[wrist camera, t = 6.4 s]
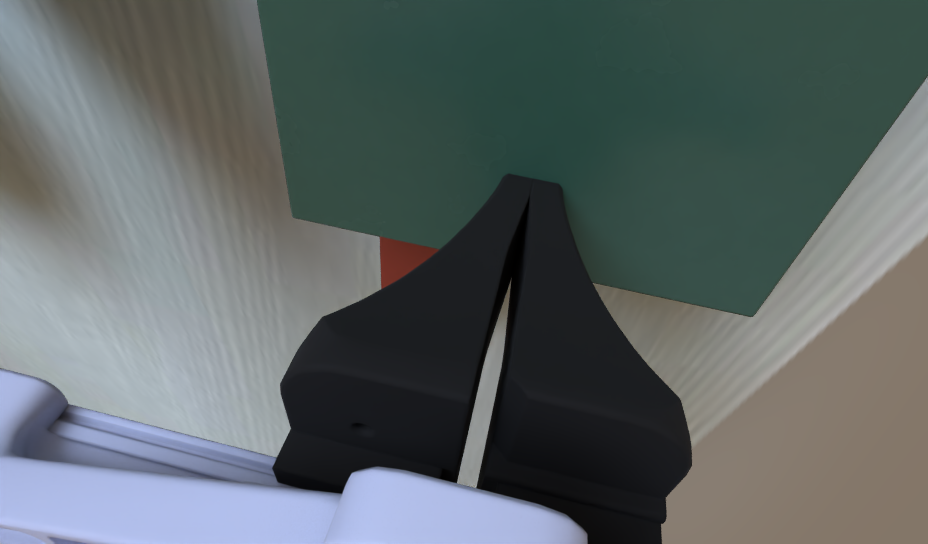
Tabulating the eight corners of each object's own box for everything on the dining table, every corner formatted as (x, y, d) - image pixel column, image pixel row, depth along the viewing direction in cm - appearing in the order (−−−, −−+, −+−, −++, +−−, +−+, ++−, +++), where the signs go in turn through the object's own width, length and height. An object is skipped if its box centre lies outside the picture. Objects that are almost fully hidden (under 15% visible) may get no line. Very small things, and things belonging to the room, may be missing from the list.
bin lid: (749, 299, 14) (753, 318, 14) (302, 204, 15) (291, 218, 15) (1181, -325, 6) (1228, -333, 6) (209, -432, 8) (180, -445, 7)
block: (492, 259, 25) (475, 325, 22) (408, 241, 25) (381, 303, 22) (504, 190, 22) (487, 255, 19) (410, 170, 22) (379, 232, 19)
